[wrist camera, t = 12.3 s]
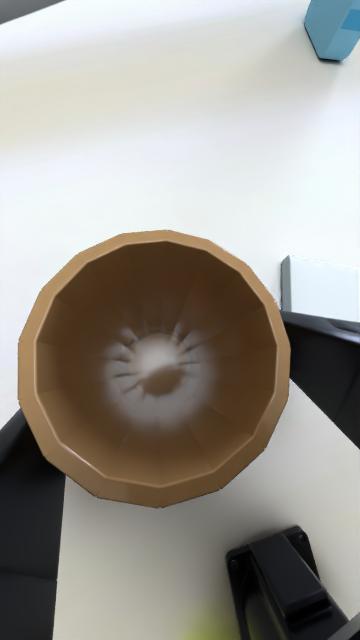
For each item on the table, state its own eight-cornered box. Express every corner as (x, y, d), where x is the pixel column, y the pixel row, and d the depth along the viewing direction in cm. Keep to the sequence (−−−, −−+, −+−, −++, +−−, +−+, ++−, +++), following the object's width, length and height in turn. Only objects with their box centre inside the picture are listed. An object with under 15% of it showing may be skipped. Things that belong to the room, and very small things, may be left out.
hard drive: (280, 261, 21) (382, 280, 22) (281, 333, 19) (394, 351, 20) (290, 253, 20) (399, 273, 21) (292, 330, 18) (414, 349, 18)
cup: (199, 391, 16) (328, 458, 4) (130, 406, 16) (15, 555, 3) (185, 326, 18) (250, 221, 5) (121, 336, 17) (17, 241, 4)
